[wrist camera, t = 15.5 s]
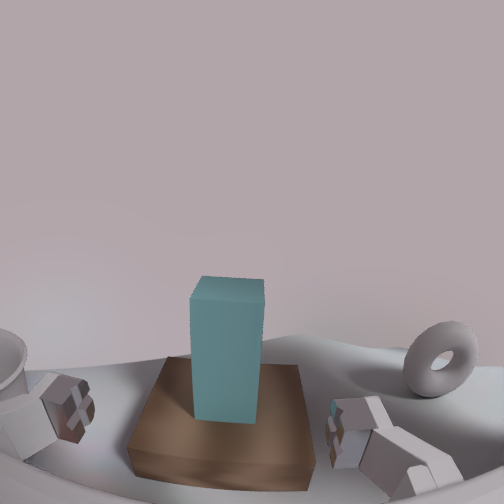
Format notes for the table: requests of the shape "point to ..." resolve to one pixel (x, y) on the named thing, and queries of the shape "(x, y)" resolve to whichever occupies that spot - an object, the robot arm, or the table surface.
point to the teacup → (12, 366)
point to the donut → (433, 345)
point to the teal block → (226, 347)
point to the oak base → (225, 436)
